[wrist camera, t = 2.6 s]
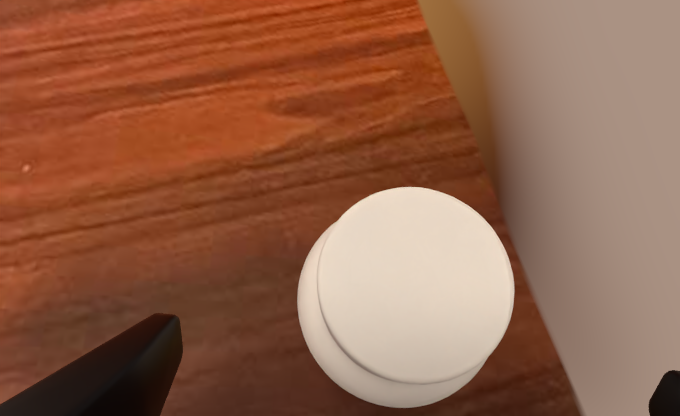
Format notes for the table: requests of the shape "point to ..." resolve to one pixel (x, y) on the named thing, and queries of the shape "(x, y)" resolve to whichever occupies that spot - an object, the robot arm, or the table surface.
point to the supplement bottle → (405, 297)
